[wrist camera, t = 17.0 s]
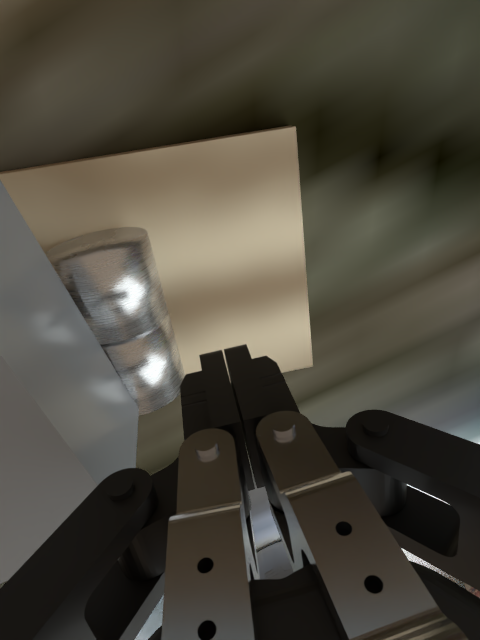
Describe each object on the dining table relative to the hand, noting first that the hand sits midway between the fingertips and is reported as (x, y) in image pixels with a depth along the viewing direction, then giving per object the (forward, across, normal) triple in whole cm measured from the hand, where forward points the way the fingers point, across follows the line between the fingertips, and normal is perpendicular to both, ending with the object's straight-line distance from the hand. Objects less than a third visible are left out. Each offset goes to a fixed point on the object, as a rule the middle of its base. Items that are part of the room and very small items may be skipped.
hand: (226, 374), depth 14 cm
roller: (+4, +4, 0) cm, 5 cm away
